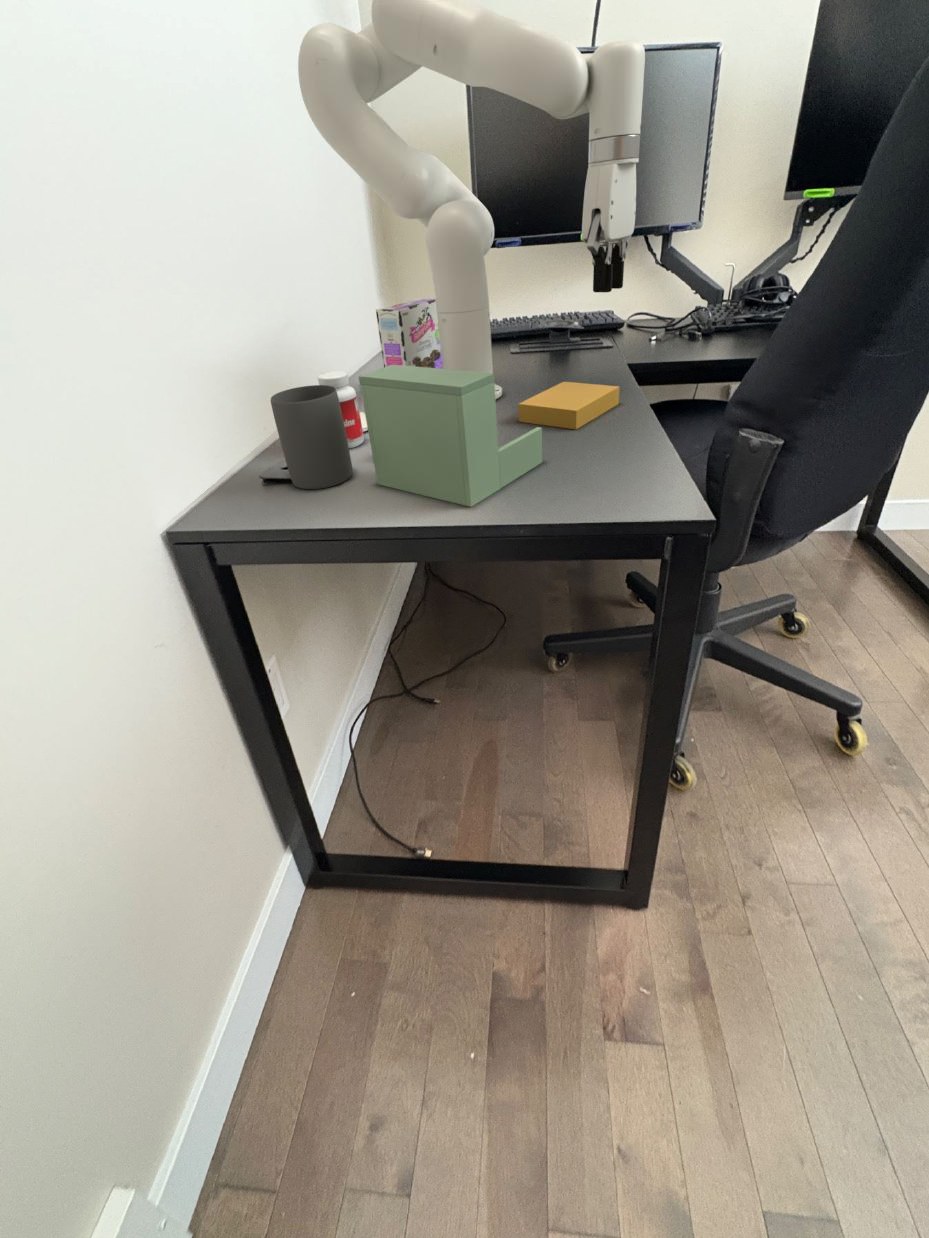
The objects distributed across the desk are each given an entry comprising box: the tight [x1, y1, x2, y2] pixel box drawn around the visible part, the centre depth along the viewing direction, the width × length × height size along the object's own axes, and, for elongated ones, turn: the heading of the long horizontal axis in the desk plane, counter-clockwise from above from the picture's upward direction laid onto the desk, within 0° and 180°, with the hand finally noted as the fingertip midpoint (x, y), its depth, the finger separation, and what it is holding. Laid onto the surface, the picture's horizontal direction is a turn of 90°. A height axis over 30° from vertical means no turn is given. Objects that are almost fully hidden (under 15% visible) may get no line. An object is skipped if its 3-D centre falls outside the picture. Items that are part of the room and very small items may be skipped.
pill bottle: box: [317, 370, 365, 450], centre depth 97 cm, size 6×6×11 cm
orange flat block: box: [517, 381, 620, 430], centre depth 103 cm, size 15×11×3 cm
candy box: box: [375, 298, 443, 369], centre depth 120 cm, size 14×6×16 cm, turn 148°
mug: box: [270, 384, 353, 490], centre depth 86 cm, size 14×9×12 cm
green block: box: [358, 365, 543, 508], centre depth 81 cm, size 17×17×14 cm
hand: (607, 289), depth 101 cm, fingers open, 3 cm apart
